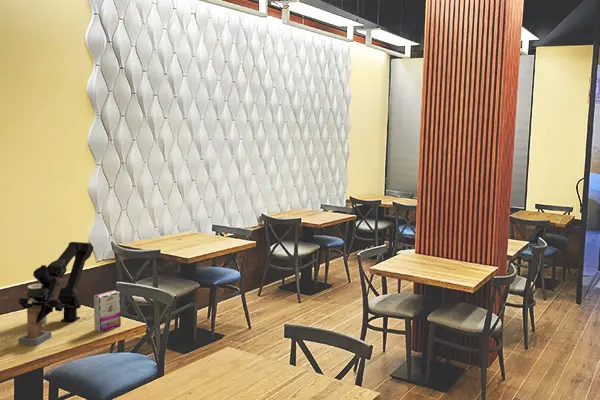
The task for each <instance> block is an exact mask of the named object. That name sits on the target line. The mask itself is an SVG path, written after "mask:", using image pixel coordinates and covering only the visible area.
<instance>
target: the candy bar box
mask: <svg viewBox="0 0 600 400" xmlns="http://www.w3.org/2000/svg"><path fill="white" fill-rule="evenodd" d="M93 314H94V315H93V319H94V322H93V323H94V330H95V331H97V332H100V333H101V332H104V331H108V330H111V329H112V330H113V329H115V328H118V327H121V325H122V322H121V319H122V318H121V292H120V291H117V290H110V291H107V292H102V293H99V294H94V295H93Z"/></svg>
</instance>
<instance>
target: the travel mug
mask: <svg viewBox="0 0 600 400" xmlns="http://www.w3.org/2000/svg"><path fill="white" fill-rule="evenodd" d="M41 286H42V284H40V283H34V284H33V283H32V284H30V285H27V288H28V291H27V294H26V295H27V296H26V297H28V298H30V300H32V301H35V299H33V297H32V296H29V293H30V289H38V288H41ZM47 316H48V315H47ZM47 316H45V317H44V318H43V319H42V326H43V325H45V324H46V323H47V321H48V319H47Z"/></svg>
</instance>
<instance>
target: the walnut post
mask: <svg viewBox="0 0 600 400" xmlns="http://www.w3.org/2000/svg"><path fill="white" fill-rule="evenodd" d="M26 309H27V310H26V312H27V313H26V316H27V317H26V318H27V321H26V322H27V333H28V338H33V339H36V338H38V337H39V336H41V335H42V331H43V325H42V320H41V321H40V322H38V323H37V322H36V321H37V318H38V316H39V313H40V311H41V306H32V307H30V308H26Z"/></svg>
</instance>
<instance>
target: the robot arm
mask: <svg viewBox="0 0 600 400" xmlns="http://www.w3.org/2000/svg"><path fill="white" fill-rule="evenodd" d="M92 252H94V245H92V243H91V242H81V241H79V242H78V241H70V242H68V246H67V247H66V248H65V249H64V251H63V252H62V253H61V254H60V255H59V257H58V259H56V260H54V261H51V262H50V263H49V264H48V265H45V264H41V265H40V267H38V268H36V269H35V270H34V271H33V273H32V277H34V278H35V280H36V281H37V282H38V284H42V286H41V288H38V289H30V293H29V296H32V297H33V299H35V301H32V300H30V298H28V297H27V296H21V297H19V298H18V300H17V303H18V304H19V305H20V306H21V307H22V308H24V309H28V308H30V307H32V306H41V311H40V313H39V316H38V318H37V321H36V322H37V323H38V322H40V321H41V320H42V319H43V318H44V317H45V316H48V315H49V314H51V313H53V312H54V310H55V311H56V312H62V311H63V318H62V319H60V321H61V322H67V323H75V322H76V321H77V320H79V319H80V318H81V316H78V309H81V306H82V301H81V300H80V299H79V292H78V287H79V284H80V279H81V278H82V273H83V269H84V266H85V262H86V261H87V260H89V259H90V257H91V255H92V254H93V253H92ZM73 258H74V261H73V265H72V267H71V270H70V273H69V277H68V280H67V283H66V285H65V287H62V288H61V289H60V290H59V294H58V297H57V299H52V298H54V297H55V295H54V292H55V290H56V287H57V286H58V287H59V286H60V282H59V279H57V278H60V279H61V278H63V277H64V276H65V274H66V273H67V266H68V265H69V263H70V262H71V260H72V259H73Z"/></svg>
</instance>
